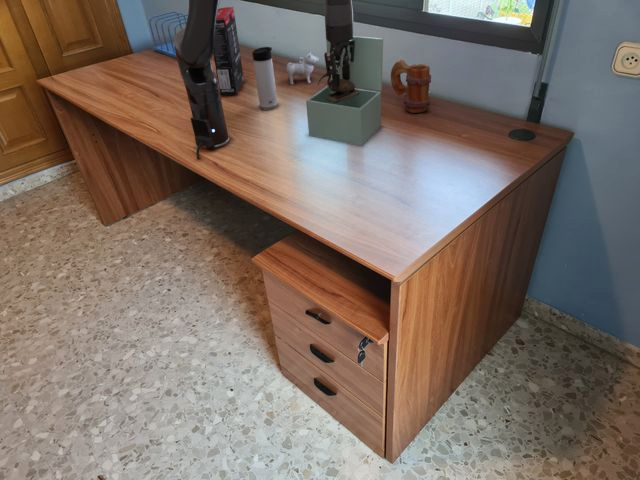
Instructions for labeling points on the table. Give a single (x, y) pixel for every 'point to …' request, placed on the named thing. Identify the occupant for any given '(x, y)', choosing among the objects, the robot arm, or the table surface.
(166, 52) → the file sorter
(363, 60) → the lid
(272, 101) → the travel mug
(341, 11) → the robot arm
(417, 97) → the mug
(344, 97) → the figurine
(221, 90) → the graphics card box
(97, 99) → the table surface
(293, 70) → the dog figurine
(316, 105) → the chest
